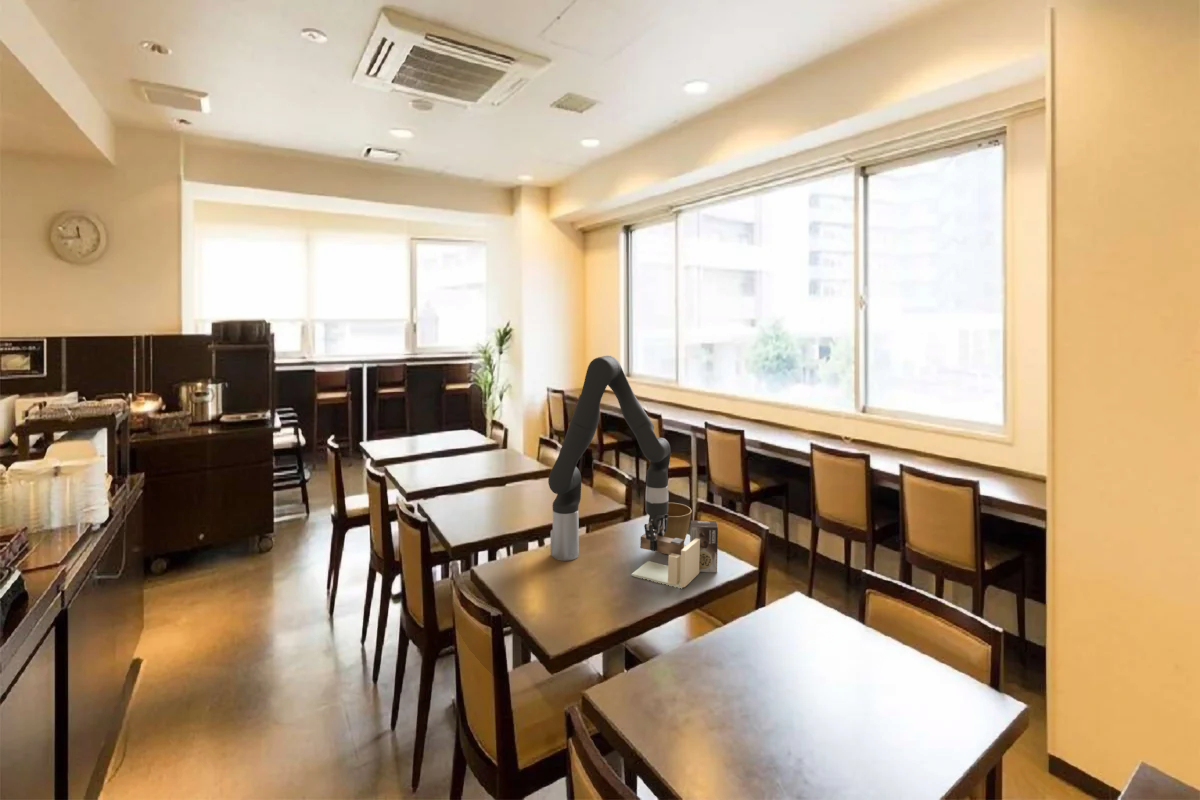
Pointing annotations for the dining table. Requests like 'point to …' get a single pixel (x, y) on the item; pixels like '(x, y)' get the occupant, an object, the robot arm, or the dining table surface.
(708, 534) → the coffee box
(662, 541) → the rail
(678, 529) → the plant pot
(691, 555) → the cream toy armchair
